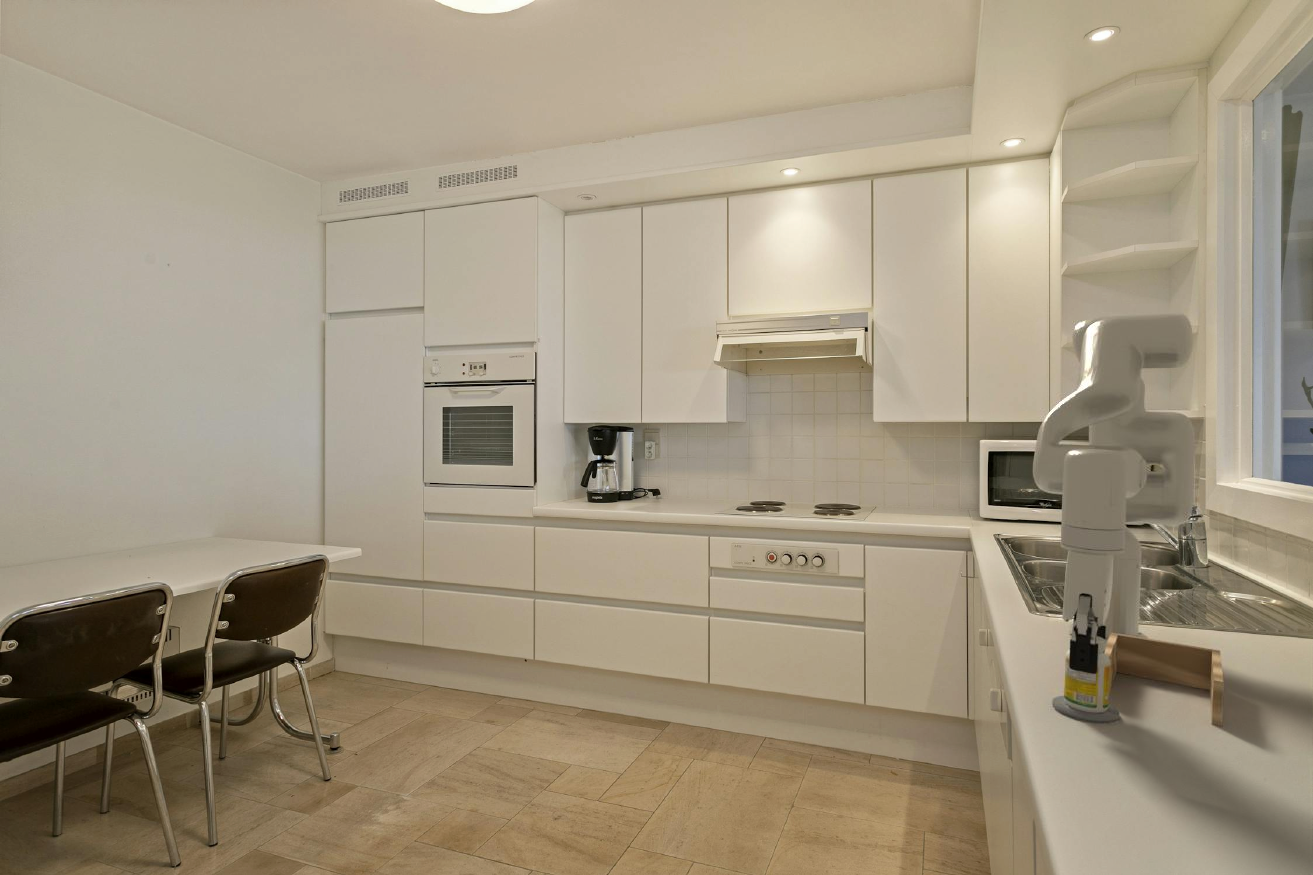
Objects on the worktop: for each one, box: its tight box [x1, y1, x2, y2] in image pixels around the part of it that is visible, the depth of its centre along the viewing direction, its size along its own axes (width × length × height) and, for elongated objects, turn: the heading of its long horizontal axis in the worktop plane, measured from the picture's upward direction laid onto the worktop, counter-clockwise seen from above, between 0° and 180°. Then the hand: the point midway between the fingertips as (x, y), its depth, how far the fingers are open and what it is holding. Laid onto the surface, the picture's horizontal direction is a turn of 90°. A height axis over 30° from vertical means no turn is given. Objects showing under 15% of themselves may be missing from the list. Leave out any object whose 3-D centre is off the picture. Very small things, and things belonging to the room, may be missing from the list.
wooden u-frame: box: [1104, 632, 1224, 727], centre depth 106 cm, size 17×14×6 cm
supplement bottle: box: [1063, 636, 1110, 713], centre depth 100 cm, size 5×5×10 cm
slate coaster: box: [1051, 695, 1120, 724], centre depth 100 cm, size 8×8×1 cm
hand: (1087, 660), depth 100 cm, fingers open, 9 cm apart
